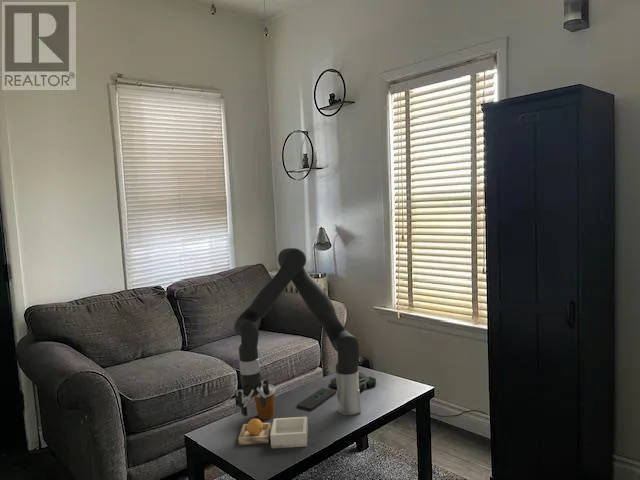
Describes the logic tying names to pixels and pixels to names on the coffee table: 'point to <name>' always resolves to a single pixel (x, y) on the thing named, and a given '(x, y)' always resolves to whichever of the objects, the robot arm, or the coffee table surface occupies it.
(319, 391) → the smart home device
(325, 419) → the coffee table surface
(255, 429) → the ball
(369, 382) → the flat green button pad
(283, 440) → the white square bin
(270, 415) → the disposable coffee cup
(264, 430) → the tray
